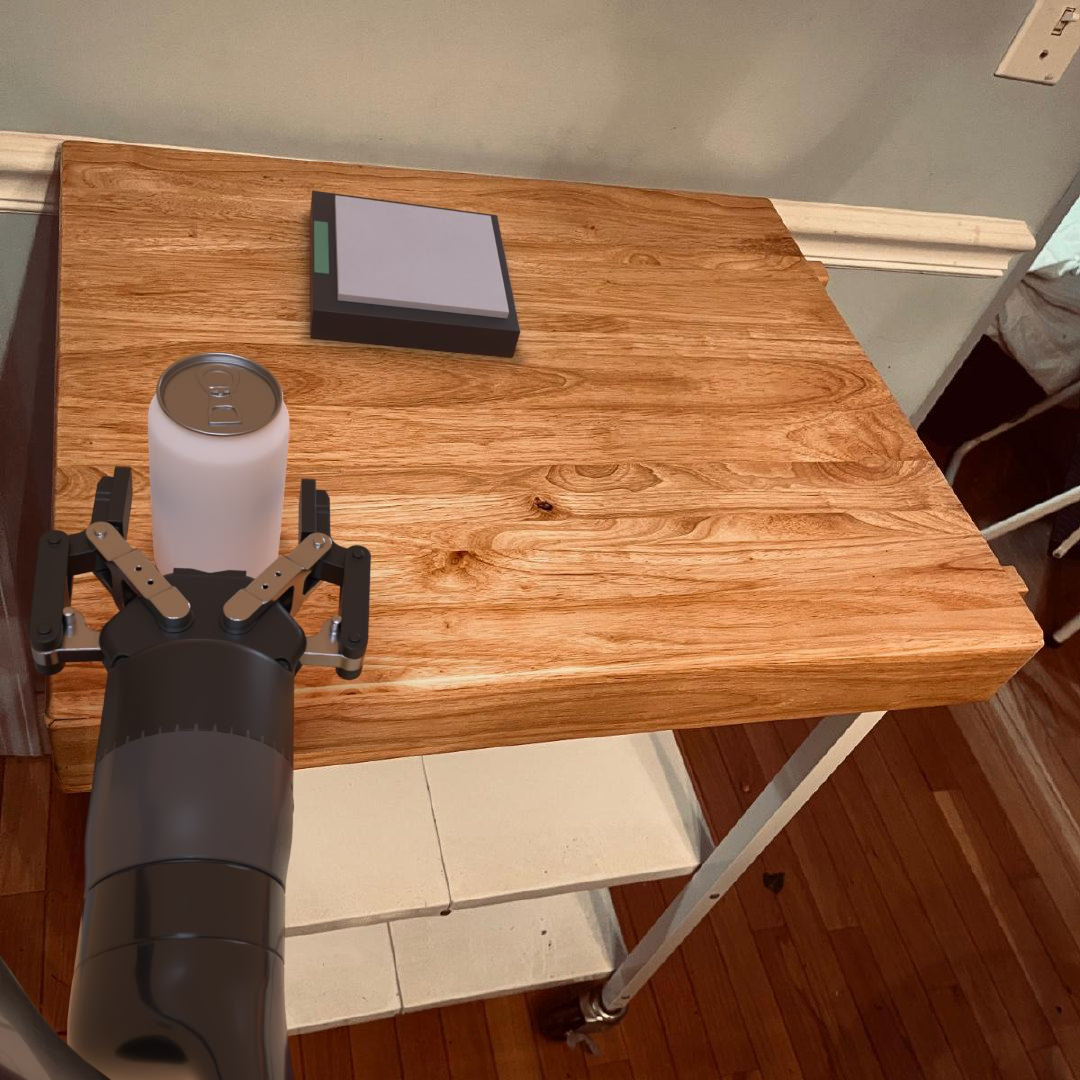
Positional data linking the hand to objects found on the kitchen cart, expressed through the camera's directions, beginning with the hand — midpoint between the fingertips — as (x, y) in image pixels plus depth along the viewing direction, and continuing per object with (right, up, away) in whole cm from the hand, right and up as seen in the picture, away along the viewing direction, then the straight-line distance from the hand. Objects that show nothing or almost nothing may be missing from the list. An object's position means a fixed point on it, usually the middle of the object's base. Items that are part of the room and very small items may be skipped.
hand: (217, 484), depth 52 cm
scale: (+6, +16, +26) cm, 31 cm away
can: (-2, -4, +6) cm, 7 cm away
